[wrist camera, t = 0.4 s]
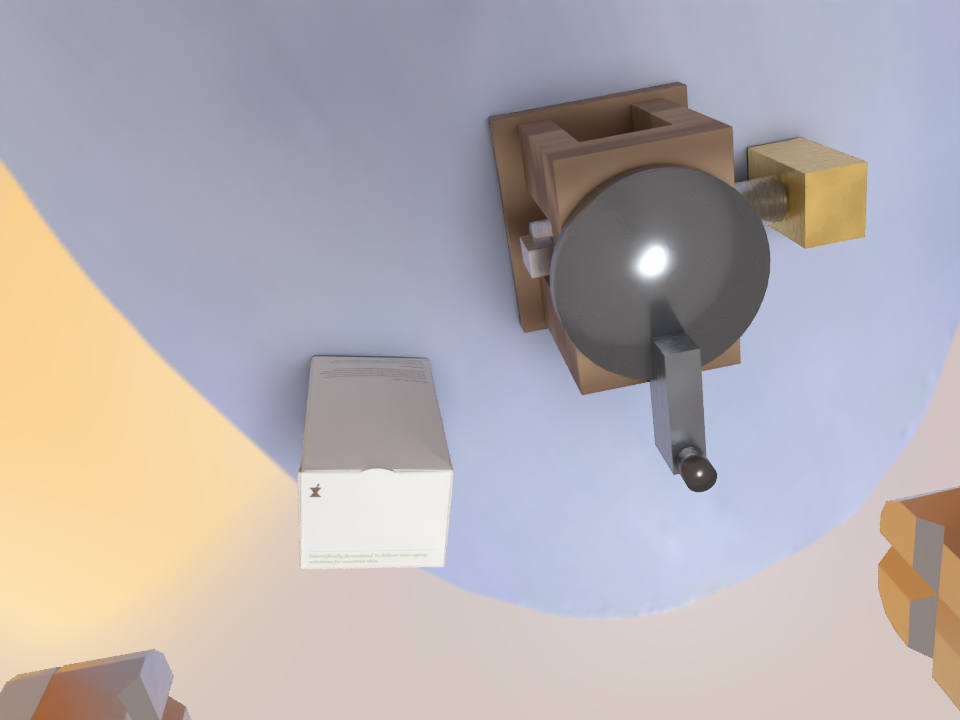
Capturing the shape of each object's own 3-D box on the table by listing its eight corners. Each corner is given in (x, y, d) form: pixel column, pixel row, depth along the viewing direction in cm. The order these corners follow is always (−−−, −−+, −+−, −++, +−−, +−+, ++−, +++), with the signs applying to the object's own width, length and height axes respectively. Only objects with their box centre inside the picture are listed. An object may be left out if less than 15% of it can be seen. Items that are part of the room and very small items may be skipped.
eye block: (488, 117, 52) (521, 156, 41) (678, 82, 53) (761, 110, 42) (520, 324, 58) (556, 408, 47) (690, 291, 59) (766, 366, 47)
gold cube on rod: (504, 193, 54) (524, 227, 47) (802, 137, 55) (867, 161, 48) (514, 259, 56) (535, 301, 49) (802, 203, 57) (864, 236, 50)
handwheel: (536, 186, 41) (559, 215, 36) (755, 144, 42) (807, 167, 37) (573, 457, 48) (596, 513, 43) (762, 419, 48) (807, 470, 43)
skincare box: (309, 434, 60) (290, 574, 46) (310, 347, 57) (290, 468, 43) (428, 436, 61) (445, 574, 47) (435, 352, 59) (455, 471, 44)
